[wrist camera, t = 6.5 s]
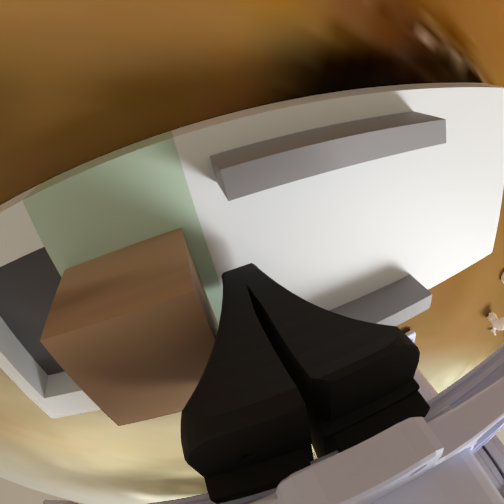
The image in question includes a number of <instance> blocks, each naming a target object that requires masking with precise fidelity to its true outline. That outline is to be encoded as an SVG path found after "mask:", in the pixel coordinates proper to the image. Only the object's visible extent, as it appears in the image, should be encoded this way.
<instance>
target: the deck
mask: <svg viewBox="0 0 504 504" xmlns="http://www.w3.org/2000/svg"><path fill="white" fill-rule="evenodd" d="M503 186H504V87H500V86H496V85H491V84H486V83H422V84H405V85H392V86H381V87H371V88H362V89H354V90H346V91H339V92H332V93H325V94H319V95H313V96H308V97H302V98H297V99H291V100H286V101H281V102H276V103H272V104H267V105H263V106H258V107H254V108H250V109H246V110H241V111H237V112H233V113H230V114H226V115H222V116H218V117H215V118H211V119H208V120H204V121H201V122H197V123H194V124H190V125H187V126H184V127H181V128H178V129H174V130H171V131H168V132H165V133H162V134H159V135H156V136H153V137H151V138H148V139H145V140H142V141H139V142H137V143H134V144H131V145H128V146H126V147H123V148H121V149H118V150H115V151H113V152H110V153H108V154H105V155H103V156H100V157H98V158H96V159H93V160H91V161H89V162H86V163H84V164H82V165H79V166H77V167H75V168H73V169H70V170H68V171H66V172H64V173H62V174H60V175H57V176H55V177H53V178H51V179H49V180H47V181H45V182H43V183H41V184H39V185H37V186H35V187H33V188H31V189H29V190H27V191H25V192H23V193H21V194H20V195H18V196H16V197H14V198H12V199H10V200H9V201H7V202H5V203H3V204H1V205H0V368H1V369H2V370H3V371H4V372H5V373H6V374H7V375H8V376H9V377H10V379H11V380H12V381H13V382H14V383H15V384H16V385H17V386H18V387H19V388H20V389H21V390H22V391H23V392H24V393H25V394H26V395H27V396H28V397H29V398H30V399H31V400H32V401H33V402H34V403H36V404H37V405H38V406H39V407H40V408H41V409H42V410H43V411H44V412H45V413H46V414H48V415H49V416H50V417H51V418H58V417H64V416H70V415H75V414H81V413H86V412H91V411H96V410H101V409H100V408H99V407H98V406H97V405H96V404H95V403H94V402H93V401H92V400H91V399H90V398H89V397H88V396H87V395H86V394H85V393H84V392H83V390H82V389H81V388H80V387H79V386H78V385H77V384H76V383H75V382H74V381H73V380H72V379H71V377H70V376H69V375H68V374H67V373H66V372H65V371H64V370H63V368H62V367H61V366H60V365H59V364H58V363H57V361H56V360H55V359H54V358H53V357H52V355H51V354H50V353H49V352H48V350H47V349H46V348H45V347H44V345H43V344H42V343H41V342H40V339H41V335H42V332H43V329H44V326H45V323H46V320H47V317H48V314H49V311H50V308H51V305H52V302H53V299H54V297H55V294H56V291H57V288H58V286H59V283H60V281H61V278H62V275H63V273H64V270H66V269H68V268H71V267H73V266H76V265H79V264H81V263H84V262H86V261H89V260H92V259H94V258H97V257H100V256H102V255H105V254H108V253H110V252H113V251H116V250H119V249H121V248H124V247H127V246H130V245H132V244H135V243H138V242H141V241H144V240H146V239H149V238H152V237H155V236H158V235H161V234H163V233H166V232H169V231H172V230H175V229H178V228H181V227H182V230H183V233H184V235H185V238H186V241H187V244H188V247H189V249H190V252H191V255H192V257H193V260H194V263H195V266H196V268H197V271H198V274H199V276H200V279H201V281H202V284H203V287H204V289H205V292H206V294H207V297H208V300H209V302H210V305H211V307H212V310H213V312H214V315H215V317H216V320H217V322H218V325H219V321H220V315H221V309H222V298H223V283H222V277H221V275H222V274H223V272H226V271H229V270H232V269H235V268H238V267H241V266H244V265H247V264H250V263H253V264H255V265H256V266H257V267H258V268H259V269H260V270H261V271H263V272H264V273H265V274H266V275H268V276H269V277H270V278H271V279H273V280H274V281H275V282H277V283H278V284H280V285H281V286H283V287H284V288H286V289H287V290H289V291H290V292H292V293H294V294H296V295H297V296H299V297H301V298H303V299H304V300H306V301H308V302H310V303H312V304H314V305H317V306H319V307H321V308H323V309H326V310H328V311H331V312H334V313H337V314H340V315H343V316H346V317H349V318H353V319H357V320H361V321H365V322H370V323H376V324H383V325H390V326H397V325H399V324H400V323H402V322H404V321H406V320H408V319H410V318H412V317H414V316H415V315H417V314H419V313H421V312H423V311H425V310H426V309H428V308H430V303H431V298H432V293H430V292H429V291H428V289H430V288H432V287H433V286H435V285H437V284H439V283H441V282H443V281H444V280H446V279H448V278H450V277H452V276H453V275H455V274H457V273H459V272H460V271H462V270H464V269H465V268H467V267H469V266H471V265H472V264H474V263H476V262H477V261H479V260H481V259H482V258H484V257H485V256H487V255H489V254H490V253H492V250H493V246H494V241H495V236H496V231H497V226H498V220H499V215H500V208H501V202H502V194H503Z"/></svg>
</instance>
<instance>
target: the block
mask: <svg viewBox="0 0 504 504" xmlns="http://www.w3.org/2000/svg"><path fill="white" fill-rule="evenodd" d="M218 326H219V325H218V322H217V320H216V317H215V315H214V312H213V310H212V307H211V305H210V302H209V300H208V297H207V294H206V292H205V289H204V287H203V284H202V281H201V279H200V276H199V274H198V271H197V268H196V266H195V263H194V260H193V257H192V255H191V252H190V249H189V247H188V244H187V241H186V238H185V235H184V233H183V230H182V227H181V228H178V229H175V230H172V231H169V232H166V233H163V234H161V235H158V236H155V237H152V238H149V239H146V240H144V241H141V242H138V243H135V244H132V245H130V246H127V247H124V248H121V249H119V250H116V251H113V252H110V253H108V254H105V255H102V256H100V257H97V258H94V259H92V260H89V261H86V262H84V263H81V264H79V265H76V266H73V267H71V268H68V269H66V270H64V273H63V275H62V278H61V281H60V283H59V286H58V288H57V291H56V294H55V297H54V299H53V302H52V305H51V308H50V311H49V314H48V317H47V320H46V323H45V326H44V329H43V332H42V335H41V339H40V342H41V343H42V344H43V345H44V347H45V348H46V349H47V350H48V352H49V353H50V354H51V355H52V357H53V358H54V359H55V360H56V361H57V363H58V364H59V365H60V366H61V367H62V368H63V370H64V371H65V372H66V373H67V374H68V375H69V376H70V377H71V379H72V380H73V381H74V382H75V383H76V384H77V385H78V386H79V387H80V388H81V389H82V390H83V392H84V393H85V394H86V395H87V396H88V397H89V398H90V399H91V400H92V401H93V402H94V403H95V404H96V405H97V406H98V407H99V408H100V409H101V410H102V411H103V412H104V413H105V414H106V415H107V416H108V417H110V418H111V419H112V420H113V421H114V422H115V423H116V424H117V425H118V426H120V425H125V424H130V423H135V422H139V421H144V420H148V419H152V418H156V417H161V416H165V415H169V414H172V413H176V412H180V411H182V410H183V409H184V407H185V405H186V404H187V402H188V400H189V399H190V397H191V395H192V394H193V392H194V390H195V388H196V387H197V385H198V383H199V380H200V378H201V376H202V374H203V372H204V370H205V368H206V365H207V363H208V360H209V357H210V355H211V352H212V349H213V346H214V342H215V339H216V335H217V331H218Z"/></svg>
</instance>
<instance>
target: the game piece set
mask: <svg viewBox="0 0 504 504" xmlns="http://www.w3.org/2000/svg"><path fill="white" fill-rule="evenodd" d="M501 281H502V282H503V283H504V272H503V274H502V275H501ZM488 320H489V321H491V322H492V326H494V327H492V328H493V329H492V330H491V332H493V333H494V336H496V333H495V332H496V331H495V330H496V329H497V330H499V331H500V330H504V317H501V318H497V317H496V314H494V313H493V312H492V313H490V312H489V315H488Z"/></svg>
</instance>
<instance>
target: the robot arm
mask: <svg viewBox="0 0 504 504" xmlns="http://www.w3.org/2000/svg"><path fill="white" fill-rule="evenodd" d="M221 277H222V283H223V298H222V309H221V315H220V321H219V326H218V331H217V335H216V339H215V342H214V346H213V349H212V352H211V355H210V357H209V360H208V363H207V365H206V368H205V370H204V372H203V374H202V376H201V378H200V380H199V383H198V385H197V387H196V388H195V390H194V392H193V394H192V395H191V397H190V399H189V400H188V402H187V404H186V405H185V407H184V409H183V410H182V415H181V443H182V448H183V453H184V458H185V460H186V462H187V463H188V464H189V465H190V466H191V467H192V468H193V469H195V470H196V471H197V472H198V473H200V474H201V475H202V476H203V477H204V478H205V482H206V486H207V490H208V493H207V494H202V495H197V496H192V497H187V498H182V499H176V500H170V501H164V502H157V503H149V504H504V445H503V444H502V442H501V441H500V440H499V439H498V437H497V436H496V435H495V434H496V433H498V431H500V430H501V429H502V428H503V427H504V344H503V345H502V346H501V347H500V348H498V349H497V350H496V351H495V352H494V353H493V354H491V355H490V356H489V357H488V358H486V359H485V360H484V361H483V362H482V363H480V364H479V365H478V366H476V367H475V368H474V369H473V370H471V371H470V372H469V373H467V374H466V375H465V376H463V377H462V378H461V379H459V380H458V381H456V382H455V383H454V384H452V385H451V386H449V387H448V388H447V389H445V390H444V391H442V392H441V393H439V394H438V393H437V392H436V391H435V389H434V388H433V387H432V385H431V384H430V383H429V382H428V380H427V379H426V378H425V377H424V375H423V374H422V373H421V372H420V370H419V369H418V368H417V365H418V362H419V355H420V352H419V349H418V347H417V346H416V345H415V344H414V341H415V337H416V333H415V332H414V330H410V331H408V332H406V333H403V332H402V331H401V330H400V329H399V328H398V327H397V326H390V325H383V324H376V323H370V322H365V321H361V320H357V319H353V318H349V317H346V316H343V315H340V314H337V313H334V312H331V311H328V310H326V309H323V308H321V307H319V306H317V305H314V304H312V303H310V302H308V301H306V300H304V299H303V298H301V297H299V296H297V295H296V294H294V293H292V292H290V291H289V290H287V289H286V288H284V287H283V286H281V285H280V284H278V283H277V282H275V281H274V280H273V279H271V278H270V277H269V276H268V275H266V274H265V273H264V272H263V271H261V270H260V269H259V268H258V267H257V266H256V265H255V264H253V263H250V264H247V265H244V266H241V267H238V268H235V269H232V270H229V271H226V272H223V274H222V275H221ZM311 444H312V445H313V448H314V450H315V452H316V455H317V457H318V459H315V460H314V459H313V453H312V447H311ZM43 504H78V503H75V502H71V501H57V500H45V501H43Z"/></svg>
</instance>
